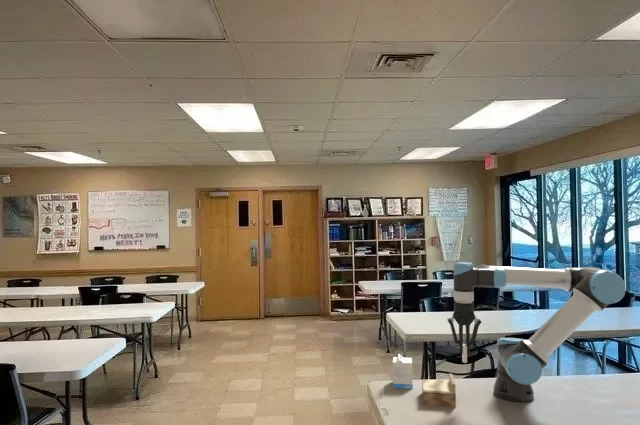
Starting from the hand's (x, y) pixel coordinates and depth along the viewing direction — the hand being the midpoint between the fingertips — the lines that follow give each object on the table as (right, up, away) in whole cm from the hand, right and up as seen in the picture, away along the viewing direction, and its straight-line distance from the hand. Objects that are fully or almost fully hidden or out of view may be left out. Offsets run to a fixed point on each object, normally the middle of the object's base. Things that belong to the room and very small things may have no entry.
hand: (464, 361), depth 168 cm
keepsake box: (-10, -17, +1) cm, 19 cm away
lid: (-10, -11, +2) cm, 15 cm away
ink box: (-21, -18, +18) cm, 33 cm away
